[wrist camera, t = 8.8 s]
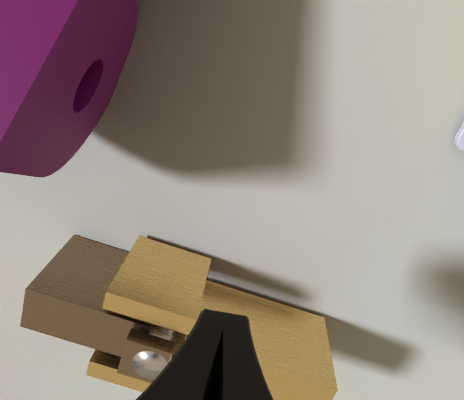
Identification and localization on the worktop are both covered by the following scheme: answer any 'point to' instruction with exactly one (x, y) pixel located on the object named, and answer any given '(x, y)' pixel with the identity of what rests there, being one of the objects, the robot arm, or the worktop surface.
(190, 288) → the loose leaf
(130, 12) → the mounting bracket
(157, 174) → the worktop surface
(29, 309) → the fixed leaf
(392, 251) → the worktop surface
